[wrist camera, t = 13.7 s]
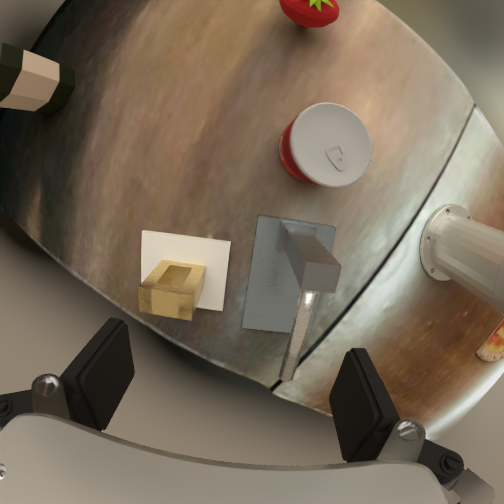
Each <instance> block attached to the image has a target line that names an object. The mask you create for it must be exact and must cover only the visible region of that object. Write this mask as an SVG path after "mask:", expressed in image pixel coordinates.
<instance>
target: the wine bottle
mask: <svg viewBox="0 0 504 504" xmlns="http://www.w3.org/2000/svg"><path fill="white" fill-rule="evenodd" d="M74 87H75V82H74V70H72V69H70V68H67V67H65V66H63V65H60V64H58V63H56V62H53V61H51V60H49V59H46V58H44V57H41V56H39V55H36V54H33V53H31V52H28V51H25V50H23V49H20V48H17V47H14V46H12V45H9V44H5V43H3V42H0V107H5V108H14V109H22V110H29V111H36V112H42V113H48V114H51V113H53V112H54V111H56V110H58V109H59V108H61V107H63V106H64V105H65V104H66V102H67V100H68V98H69V96H70V94H71V93H72V91H73V89H74Z"/></svg>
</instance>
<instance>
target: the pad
mask: <svg viewBox="0 0 504 504" xmlns="http://www.w3.org/2000/svg"><path fill="white" fill-rule="evenodd" d="M230 244H231V241H223V240H216V239H208V238H200V237H193V236H185V235H177V234H170V233H162V232H154V231H146V230H143V231H142V251H141V282H143V281H144V280H145V279H146V278H147V276H148V275H149V274H150V273H151V272H152V271H153V270H154V268H155V267H156V266H157V265H158V264H159V263H160V262H161V261H162V259H163V260H170V261H176V262H184V263H191V264H198V265H205V266H206V268H205V280H204V288H203V290H202V293H201V296H200V299H199V301H198V304H197V307H198V308H204V309H211V310H218V311H223V303H224V294H225V286H226V277H227V269H228V260H229V252H230Z"/></svg>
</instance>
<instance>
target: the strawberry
mask: <svg viewBox="0 0 504 504" xmlns="http://www.w3.org/2000/svg"><path fill="white" fill-rule="evenodd" d="M279 2H280V5H281V8H282V10H283V12H284V13H285V14H286V15H287V16H288V17H289V18H290V19H291V20H293V21H294V22H295V23H297V24H299V25H300V26H304V27H324V26H327V25H328V24H330V23H332V22H334V21H335V20H336V19H337V18H338V15H339V7H338V4H337V3H336V1H335V0H279Z"/></svg>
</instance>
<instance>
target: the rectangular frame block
mask: <svg viewBox="0 0 504 504" xmlns="http://www.w3.org/2000/svg"><path fill="white" fill-rule="evenodd" d="M205 268H206V266H205V265H198V264H191V263H184V262H176V261H170V260H163V259H162V261H161V262H160V263H159V264H158V265H157V266H156V267H155V268H154V270H153V271H152V272H151V273H150V274H149V275H148V276H147V278H146V279H145V280H144V281H143V282H142V283H141V284H140V286H139V287H138V290H139V311H141V312H146V313H151V314H156V315H162V316H167V317H173V318H179V319H185V320H191V321H192V318H193V315H194V312H195V310H196V307H197V304H198V301H199V299H200V296H201V293H202V290H203V288H204V280H205Z"/></svg>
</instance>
